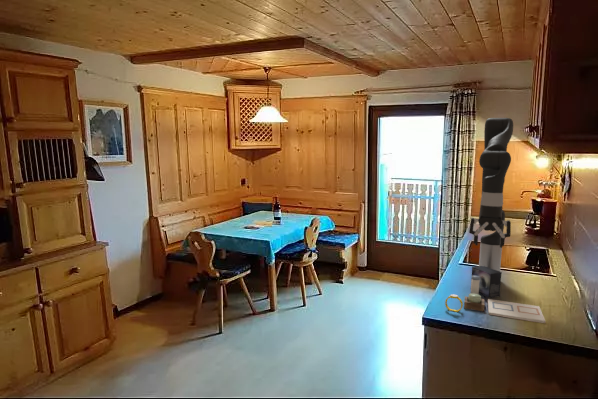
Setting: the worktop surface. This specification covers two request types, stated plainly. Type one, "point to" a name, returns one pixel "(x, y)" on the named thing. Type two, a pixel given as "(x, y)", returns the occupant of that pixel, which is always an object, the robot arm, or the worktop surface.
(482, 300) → the button housing
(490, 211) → the robot arm
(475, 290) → the marker
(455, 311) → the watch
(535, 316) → the colouring board
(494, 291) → the small box
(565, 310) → the worktop surface
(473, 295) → the button
